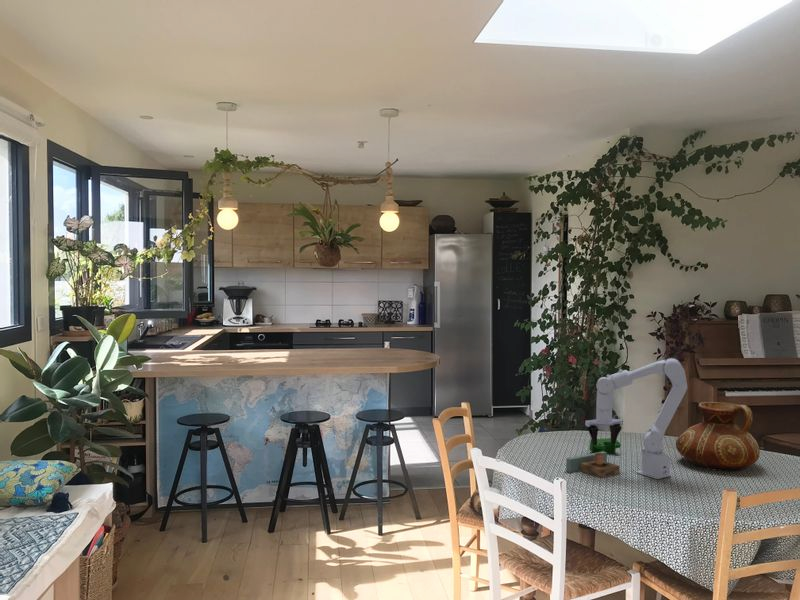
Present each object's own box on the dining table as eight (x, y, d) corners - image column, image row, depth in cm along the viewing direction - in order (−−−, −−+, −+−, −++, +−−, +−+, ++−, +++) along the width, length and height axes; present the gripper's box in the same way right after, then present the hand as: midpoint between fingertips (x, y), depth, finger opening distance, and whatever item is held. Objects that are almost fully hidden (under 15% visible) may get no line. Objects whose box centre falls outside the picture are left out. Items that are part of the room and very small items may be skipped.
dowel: (604, 472, 247) (605, 454, 247) (598, 473, 246) (598, 455, 245) (599, 470, 250) (599, 452, 249) (593, 471, 248) (593, 453, 248)
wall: (606, 465, 257) (606, 452, 257) (570, 472, 247) (570, 459, 246) (602, 463, 259) (602, 451, 259) (566, 471, 248) (566, 458, 248)
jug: (671, 468, 253) (673, 404, 253) (678, 450, 280) (679, 392, 279) (760, 479, 239) (761, 411, 239) (758, 460, 266) (760, 398, 265)
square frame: (619, 473, 246) (619, 465, 246) (600, 477, 241) (600, 469, 240) (598, 467, 254) (598, 459, 254) (580, 470, 249) (580, 463, 249)
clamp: (599, 465, 272) (594, 448, 269) (591, 458, 278) (587, 441, 275) (624, 453, 274) (620, 436, 271) (616, 446, 280) (612, 429, 276)
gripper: (591, 411, 245) (591, 447, 245) (627, 410, 248) (626, 446, 248) (582, 408, 252) (582, 443, 252) (617, 406, 255) (617, 441, 255)
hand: (603, 444), depth 251 cm, fingers open, 7 cm apart
